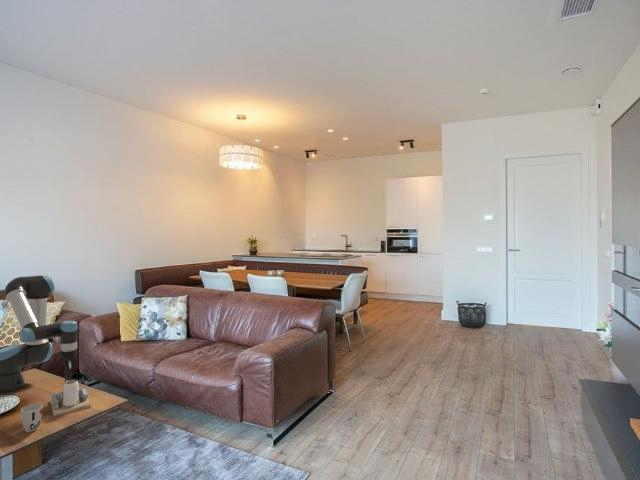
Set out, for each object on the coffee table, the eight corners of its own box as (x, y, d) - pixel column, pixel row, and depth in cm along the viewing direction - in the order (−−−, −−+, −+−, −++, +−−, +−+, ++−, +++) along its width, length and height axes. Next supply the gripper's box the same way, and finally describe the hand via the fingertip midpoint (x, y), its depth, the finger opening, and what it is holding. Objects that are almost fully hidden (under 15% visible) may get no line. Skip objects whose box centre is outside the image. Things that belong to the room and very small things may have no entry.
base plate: (49, 401, 202) (49, 393, 202) (84, 394, 212) (84, 386, 212) (53, 415, 187) (53, 406, 187) (90, 407, 197) (90, 398, 197)
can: (75, 400, 201) (75, 378, 201) (80, 403, 197) (80, 381, 197) (61, 404, 196) (61, 381, 196) (65, 408, 192) (66, 384, 192)
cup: (30, 434, 169) (30, 412, 169) (15, 432, 171) (16, 410, 171) (46, 425, 177) (47, 404, 177) (32, 423, 179) (33, 402, 179)
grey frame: (51, 399, 200) (51, 394, 200) (84, 392, 210) (84, 387, 210) (53, 407, 192) (53, 401, 192) (87, 399, 202) (87, 394, 202)
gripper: (59, 348, 208) (58, 390, 208) (61, 354, 198) (61, 398, 198) (75, 345, 213) (74, 387, 213) (78, 351, 203) (78, 394, 203)
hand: (68, 392), depth 206 cm, fingers closed
